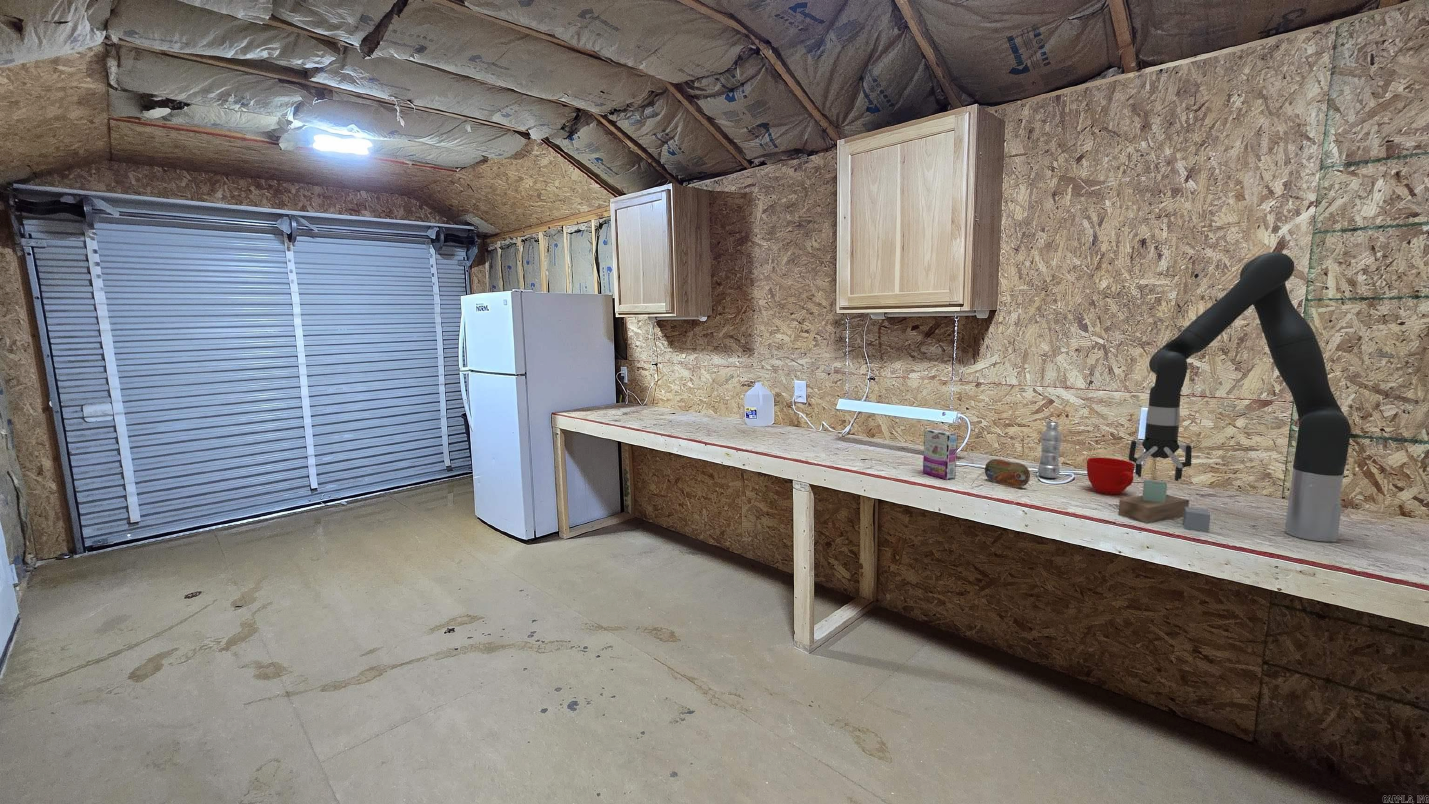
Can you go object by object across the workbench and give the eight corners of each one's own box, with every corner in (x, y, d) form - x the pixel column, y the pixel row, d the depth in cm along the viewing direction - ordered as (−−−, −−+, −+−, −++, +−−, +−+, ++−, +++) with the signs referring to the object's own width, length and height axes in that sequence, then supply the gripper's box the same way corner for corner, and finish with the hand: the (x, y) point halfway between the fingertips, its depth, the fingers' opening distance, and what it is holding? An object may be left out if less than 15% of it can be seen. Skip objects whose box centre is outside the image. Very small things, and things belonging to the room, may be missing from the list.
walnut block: (1187, 516, 172) (1189, 500, 172) (1147, 524, 166) (1148, 507, 165) (1157, 508, 180) (1159, 492, 179) (1118, 516, 173) (1119, 499, 172)
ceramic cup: (1108, 501, 185) (1111, 470, 184) (1076, 486, 202) (1078, 457, 201) (1150, 501, 185) (1153, 470, 184) (1114, 486, 202) (1117, 457, 201)
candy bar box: (956, 478, 212) (958, 433, 210) (946, 480, 210) (948, 434, 207) (931, 471, 222) (933, 428, 219) (921, 473, 219) (923, 429, 217)
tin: (983, 480, 210) (985, 456, 209) (988, 479, 212) (990, 455, 210) (1025, 490, 197) (1027, 465, 196) (1030, 489, 199) (1032, 464, 198)
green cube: (1163, 498, 173) (1165, 482, 172) (1165, 503, 169) (1167, 485, 168) (1142, 496, 176) (1144, 479, 175) (1143, 500, 171) (1145, 483, 171)
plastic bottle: (1039, 474, 218) (1043, 420, 215) (1060, 477, 214) (1065, 422, 211) (1035, 477, 213) (1039, 422, 210) (1057, 481, 209) (1061, 424, 206)
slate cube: (1205, 527, 163) (1208, 509, 162) (1208, 533, 158) (1210, 514, 158) (1182, 524, 165) (1184, 506, 165) (1184, 529, 161) (1186, 511, 161)
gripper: (1193, 422, 168) (1187, 478, 170) (1131, 418, 176) (1126, 472, 178) (1196, 426, 162) (1190, 484, 164) (1132, 422, 169) (1127, 477, 172)
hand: (1157, 478), depth 171 cm, fingers open, 8 cm apart
